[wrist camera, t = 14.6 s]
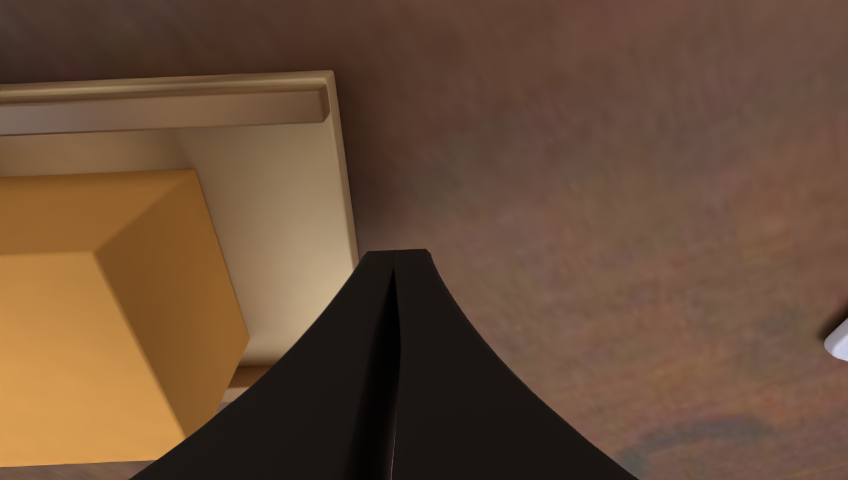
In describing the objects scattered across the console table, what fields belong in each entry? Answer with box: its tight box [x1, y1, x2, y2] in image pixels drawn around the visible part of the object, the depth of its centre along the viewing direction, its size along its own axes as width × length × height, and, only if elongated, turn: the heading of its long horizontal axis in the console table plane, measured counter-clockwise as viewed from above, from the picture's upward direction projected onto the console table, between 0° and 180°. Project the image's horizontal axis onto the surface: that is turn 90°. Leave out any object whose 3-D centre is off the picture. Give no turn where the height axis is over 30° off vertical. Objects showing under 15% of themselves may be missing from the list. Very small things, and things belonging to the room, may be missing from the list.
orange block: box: [0, 169, 249, 467], centre depth 9 cm, size 7×5×4 cm
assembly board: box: [0, 70, 359, 403], centre depth 11 cm, size 17×8×2 cm, turn 92°
